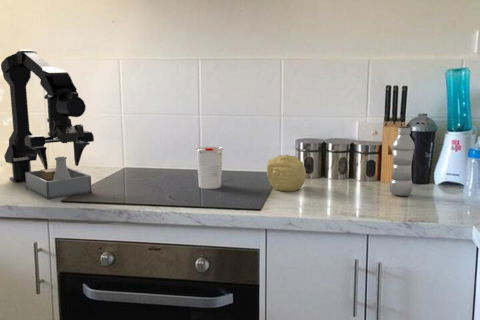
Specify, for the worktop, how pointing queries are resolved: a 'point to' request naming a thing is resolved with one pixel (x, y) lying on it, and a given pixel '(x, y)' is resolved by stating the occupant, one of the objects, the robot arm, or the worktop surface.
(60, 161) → the flask
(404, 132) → the plastic bottle
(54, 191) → the tote
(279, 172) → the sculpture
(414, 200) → the worktop surface
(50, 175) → the walnut cube
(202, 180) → the white bucket
